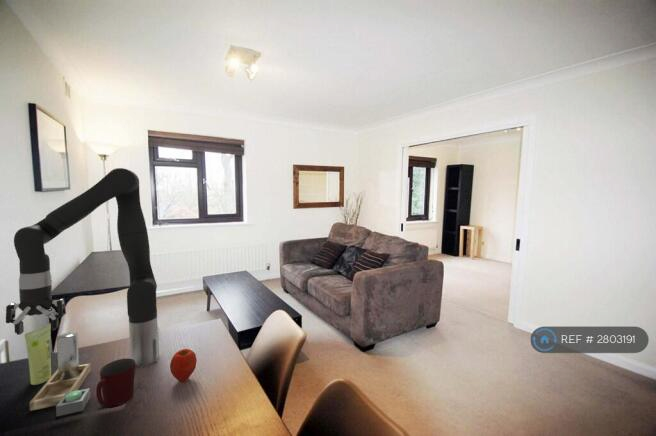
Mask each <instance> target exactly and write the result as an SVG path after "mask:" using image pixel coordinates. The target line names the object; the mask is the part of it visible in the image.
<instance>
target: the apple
mask: <svg viewBox="0 0 656 436" xmlns="http://www.w3.org/2000/svg"><path fill="white" fill-rule="evenodd" d="M196 366H197V356H196V353H195V351H194V350H191V349H190V348H189V349H188V348H183V349H180V350H178V351H176V352H175V353H174V354H173V356H172V357H171V360H170V365H169V369H170V373H171V375H172V376H173V377H174V379H176V381H178V382H180V383H185V382H186V381H187V380H189V379H190V377H191V376H192V374H193V373H194V372H195V370H196Z"/></svg>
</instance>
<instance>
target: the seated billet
mask: <svg viewBox="0 0 656 436" xmlns="http://www.w3.org/2000/svg"><path fill="white" fill-rule="evenodd" d="M78 339H79V337H78V332H77V331H71V332H65V333H62V334H59V335H58V336H57V337H56V352H57V356H56V357H57V370H58V377H59V381H62V380H67V379H72V378H77V377H79V365H80V363H79V362H80V361H79V359H80V358H79V342H78V341H79V340H78Z"/></svg>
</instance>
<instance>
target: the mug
mask: <svg viewBox="0 0 656 436" xmlns="http://www.w3.org/2000/svg"><path fill="white" fill-rule="evenodd" d="M135 373H136V365H135V361H134V360H133V359H130V357H129V358H121V359H116V360H114V361H110V362H109V363H107V364H105V365H104V366H102V368H101V369H100V370H99V378H100V379H99V380H100V381H98V383H97V385H96V388H95V390H96V392H95V393H96V399H97V402H98V403H99V404H100V406H102V407H103V408H104V407H106V408H108V409H113V408H118V407H121V406H124V405H126V404H127V403H128V402H130V401H131V400H132V398H133V396H134V391H135V390H134V388H135V375H136V374H135Z"/></svg>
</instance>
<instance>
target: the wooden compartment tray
mask: <svg viewBox="0 0 656 436" xmlns="http://www.w3.org/2000/svg"><path fill="white" fill-rule="evenodd" d="M91 371H92V364H91V363H90V362H89V363H86V364H79V377H77V378H72V379H67V380H62V381H59V377H58V369H57V370H56V371H55V372H53V374H51V378H50V379H49V380H48V381H46V383H45V384H44V385H43V386H42V388H40V390H39V391H38V392H37V393H36V394H35V396H33V398H32V399H31V400H30V401H29V411H30V412H31V411H35V410H40V409H45V408H51V407H56V406H57V404H58V403H59V402H60V400H61V399H62V397H63V396H64V394H65V393H69V392H73V391H76V390H80V388H81V386H82V384H83V383H84V381H85V380H86V378H87V377H88V375H89V373H90V372H91Z"/></svg>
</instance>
